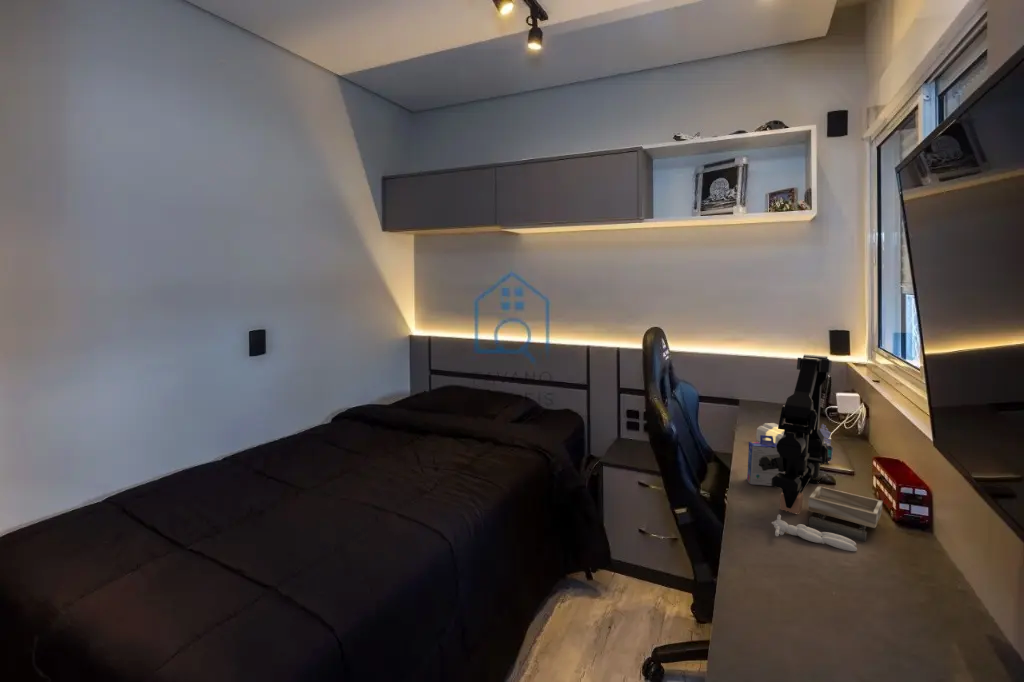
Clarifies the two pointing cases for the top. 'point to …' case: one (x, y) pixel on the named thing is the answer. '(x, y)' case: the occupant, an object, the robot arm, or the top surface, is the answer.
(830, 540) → the decorative figure
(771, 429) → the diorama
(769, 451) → the ink cartridge box
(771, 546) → the top surface
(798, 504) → the block
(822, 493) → the beige open rectangular box
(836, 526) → the framed panel
